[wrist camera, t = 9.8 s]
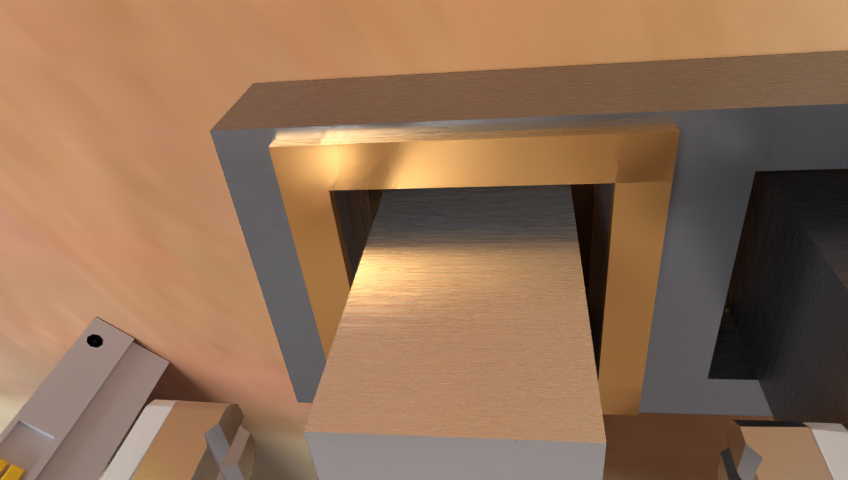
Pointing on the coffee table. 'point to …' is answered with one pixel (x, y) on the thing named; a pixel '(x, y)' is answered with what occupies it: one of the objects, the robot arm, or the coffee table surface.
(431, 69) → the coffee table surface
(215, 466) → the robot arm
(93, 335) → the walkman
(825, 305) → the dark gray block
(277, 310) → the grey block holder tray
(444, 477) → the light grey rectangular block
